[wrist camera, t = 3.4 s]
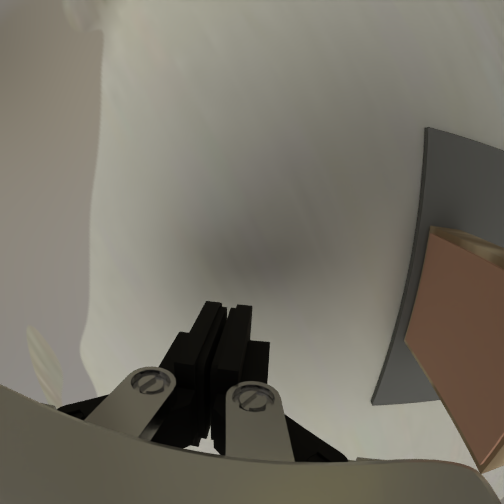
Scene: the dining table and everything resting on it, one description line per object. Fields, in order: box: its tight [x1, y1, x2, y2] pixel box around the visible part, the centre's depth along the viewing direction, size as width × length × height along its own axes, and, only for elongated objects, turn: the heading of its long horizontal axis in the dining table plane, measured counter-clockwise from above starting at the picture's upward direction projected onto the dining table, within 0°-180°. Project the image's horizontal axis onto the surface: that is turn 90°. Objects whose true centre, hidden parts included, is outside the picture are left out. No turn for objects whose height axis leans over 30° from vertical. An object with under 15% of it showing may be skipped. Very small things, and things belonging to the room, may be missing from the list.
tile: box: [404, 226, 504, 474], centre depth 12 cm, size 3×8×12 cm, turn 176°
